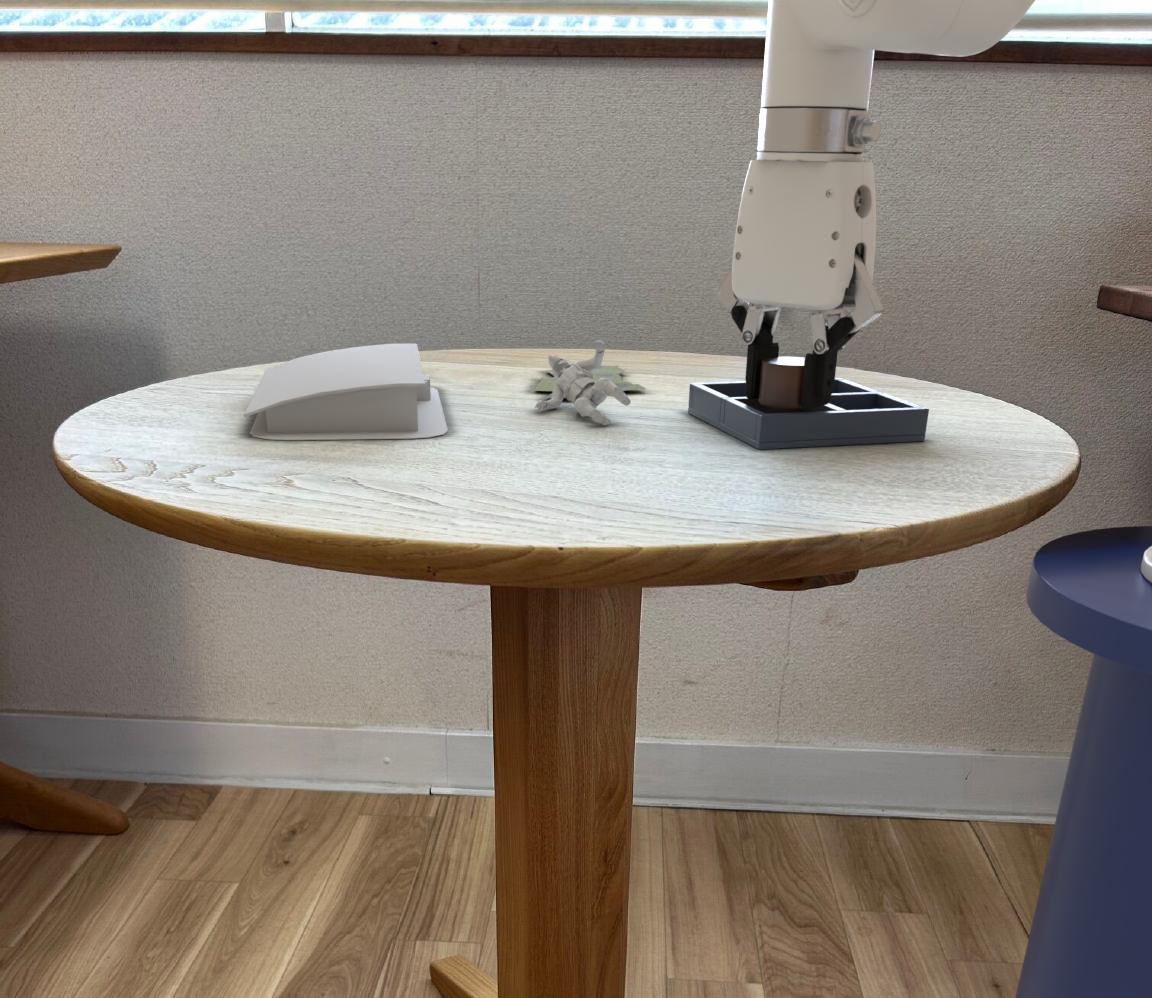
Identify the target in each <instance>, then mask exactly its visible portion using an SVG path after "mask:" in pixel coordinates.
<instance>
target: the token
mask: <svg viewBox="0 0 1152 998" xmlns="http://www.w3.org/2000/svg"><path fill="white" fill-rule="evenodd" d="M804 361H805V357H801V356H778V357H769V358H764V359H762V363H761V375H760V387H759V399H758V402H759V404H761V405H764V406H768V407H774V408H784V409H803V408H804V407H803V406H802V405H801V393H802V382H803V372H804Z"/></svg>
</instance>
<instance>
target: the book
mask: <svg viewBox="0 0 1152 998" xmlns="http://www.w3.org/2000/svg"><path fill="white" fill-rule="evenodd" d="M421 361H422V360H421V357H420V353H419V348H418V343H415V342H414V343H409V342H408V343H383V344H374V345H373V344H372V345H362V346H354V347H348V348H340V349H333V350H327V351H321V352H317V353H313V354H309V355H308V354H307V355H304V356H300V357H296V358H292V359H291V360H287V361H284V362H282V363H279V364H276V365H273V366H270V367H268V368H266V369H264V371H263V374H262V376H261V378H260V379H259V382H258V384H257V387H256V389H255V390H254V393H253V395H252V396H251V399H250V401H249V403H248V406H247V408H246V410H245V412H244V418H246V417H249V416H252V415H254V414H255V415H256V414H257V415H256V417H255V420H254V422H253V424H252V426H251V429H250V431H249V434H250V435H251V436H252V437H254V438H259V439H263V440H269V441H270V440H271V441H272V440H273V441H274V440H275V441H330V440H331V441H332V440H333V441H336V440H337V441H338V440H340V441H342V440H413V439H429V438H434V437H435V438H436V437H440V436H443V435H445V434H446V433H447V432H448V431H449V429H448V426H447V421H446V418H445V414H444V409H443V406H442V403H441V402H442V401H441V398H440V394H439V390H438V389H437V388H435V387H433V386H431V379H430V375H429V373H424V372H423V367H422V362H421Z"/></svg>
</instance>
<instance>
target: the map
mask: <svg viewBox="0 0 1152 998" xmlns="http://www.w3.org/2000/svg"><path fill="white" fill-rule="evenodd" d="M545 371H546V372H547V373H549V374H550V375H551V376H553V370H552V369H546V370H545ZM624 372H625V369H620V366H619V365H601V366H600V367H599V368H597V369H595V370H593V371H592V372H590V373H592V374H593V378H592V379H593V380H594V381H595V382H597V381H598V380H599V379H601V378H608V379H610V380H611V381H612V382H613V383H614V384H615V385H616V386H617V387H619V388H621V389H622V390H623V392H626V391H638V390H640V391H641V390H647V388H646V387H644V386H642V385H641V384H639V383H632V382H630V381H627V380H624V379H622V376H621V373H624ZM539 378H540V381H539V382H538V383H537V386H536V387H535V388H534V389H533V390H534V391H535V392H551V393H550V394H548V395H546V396H545V397H544V399H551V398H552V395H553V388H554V384H555V382H556V379H555V378H554V376H553V377H539ZM564 399H567V398H566V397H564Z"/></svg>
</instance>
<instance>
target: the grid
mask: <svg viewBox="0 0 1152 998" xmlns="http://www.w3.org/2000/svg"><path fill="white" fill-rule="evenodd" d="M688 391H689V392H688V408H687V414H689V415H691V416H693V417H695V418H696V419H699V420H701V421H702V422H705V423H706V424H709V425H711V426H712V427H714V428H717V429H719V430H720V431H723V432H724V433H726V434H728V435H730V436H732V437H734V438H736V439H738V440H740V441H742V442H744V443H745V444H747V445H750V446H752V447H754V448H756V449H757V450H773V449H775V450H776V449H794V448H795V449H796V448H813V447H814V448H815V447H831V446H833V447H835V446H852V445H872V444H890V443H892V444H893V443H909V442H924V441H925V440H926V432H927V425H928V420H929V413H930V408H928V407H925V406H922V405H919V404H916V403H914V402H911V401H909V400H906V399H902V398H900V397H896V396H895V395H894V396H893V395H890V394H888V393H885V392H881V391H880V390H877V389H875V388H874V389H873V388H871V387H867V386H865V385H863V384H860V383H857V382H854V381H851V380H849V379H844V378H842V377H835V382H834V390H833V393H832V394H831V396H830V401H829V403H828V404H827V405H822V406H818V407H814V408H803V409H784V408H774V407H768V406H764V405H761V404H759V402H758V399H759V398H756V399H749V398H747V397H746V381H745V380H741V381H740V380H739V381H736V380H735V381H713V382H708V381H707V382H690V383H689V389H688Z"/></svg>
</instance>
